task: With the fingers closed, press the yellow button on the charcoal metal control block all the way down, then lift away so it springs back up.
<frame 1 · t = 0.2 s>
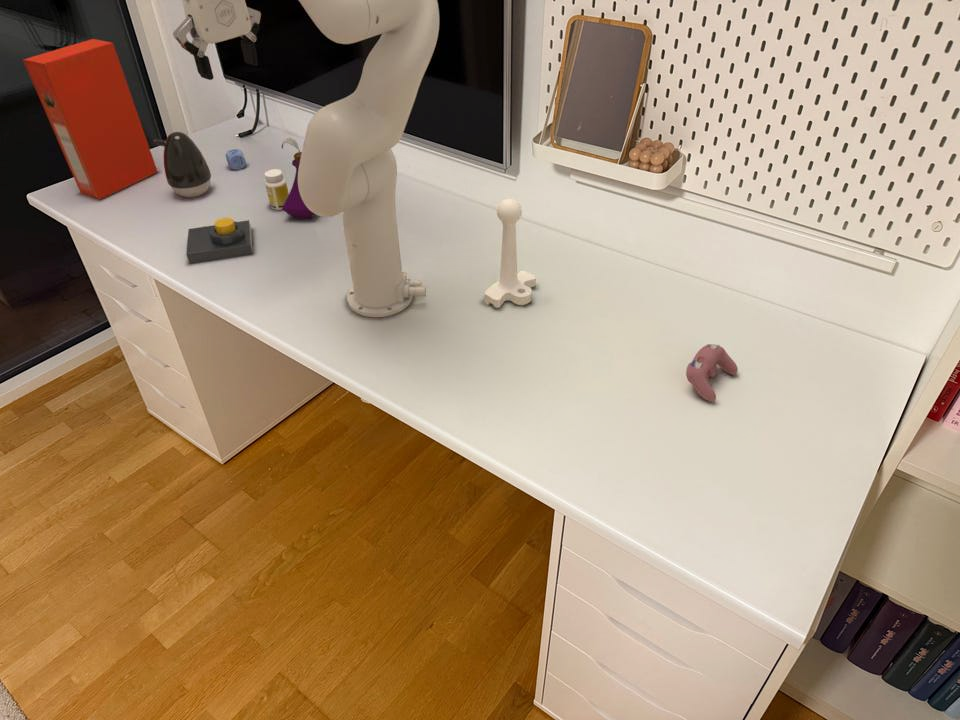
hand: (230, 70, 127), 37 cm above the table, tool pointing down, fingers open, 9 cm apart
decorative dice: (237, 167, 182), on the table
video game controller: (708, 382, 115), on the table
file binder: (120, 183, 176), on the table
supplement bottle: (281, 206, 165), on the table
pump dispenser: (193, 193, 171), on the table
perfume bottle: (305, 215, 162), on the table
button: (225, 226, 147), point 5 cm above the table, slide at 0.1 cm
joystick: (514, 297, 134), on the table
console: (221, 246, 151), on the table
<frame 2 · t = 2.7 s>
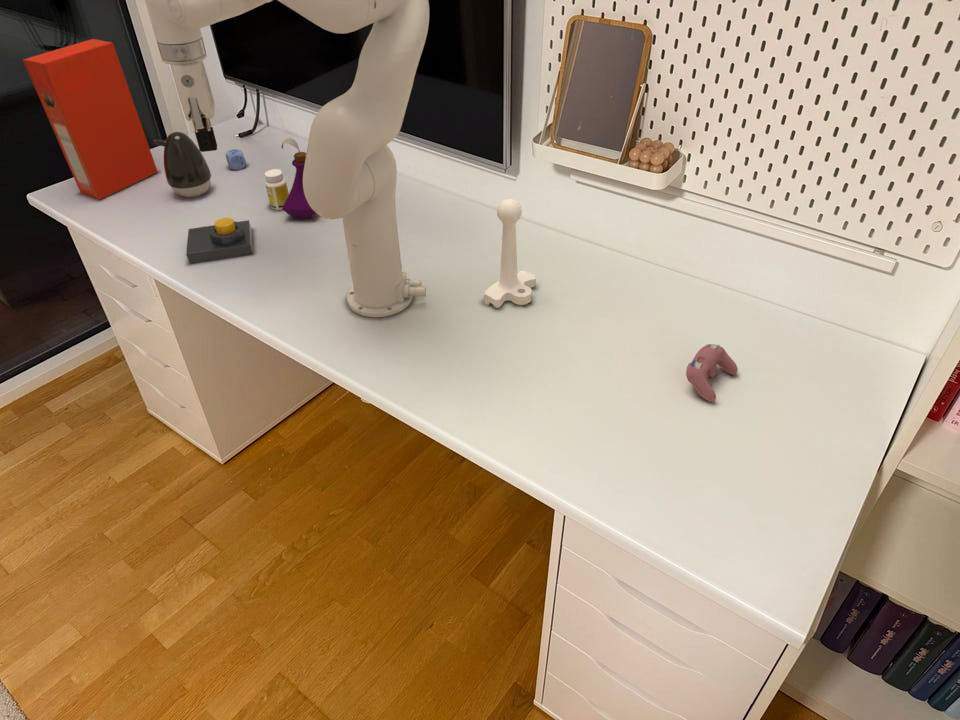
hand: (208, 149, 133), 23 cm above the table, tool pointing down, fingers closed
nothing on the table moved.
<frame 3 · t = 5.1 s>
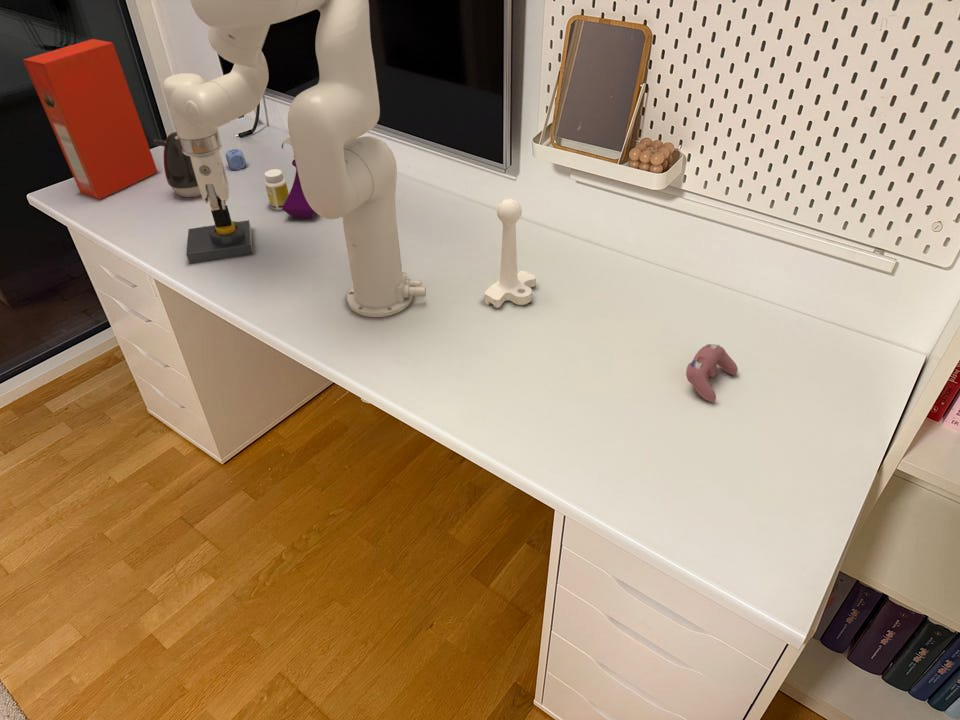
hand: (223, 224, 147), 6 cm above the table, tool pointing down, fingers closed
button: (225, 229, 148), point 4 cm above the table, slide at -0.6 cm, touching gripper
everything else where it was.
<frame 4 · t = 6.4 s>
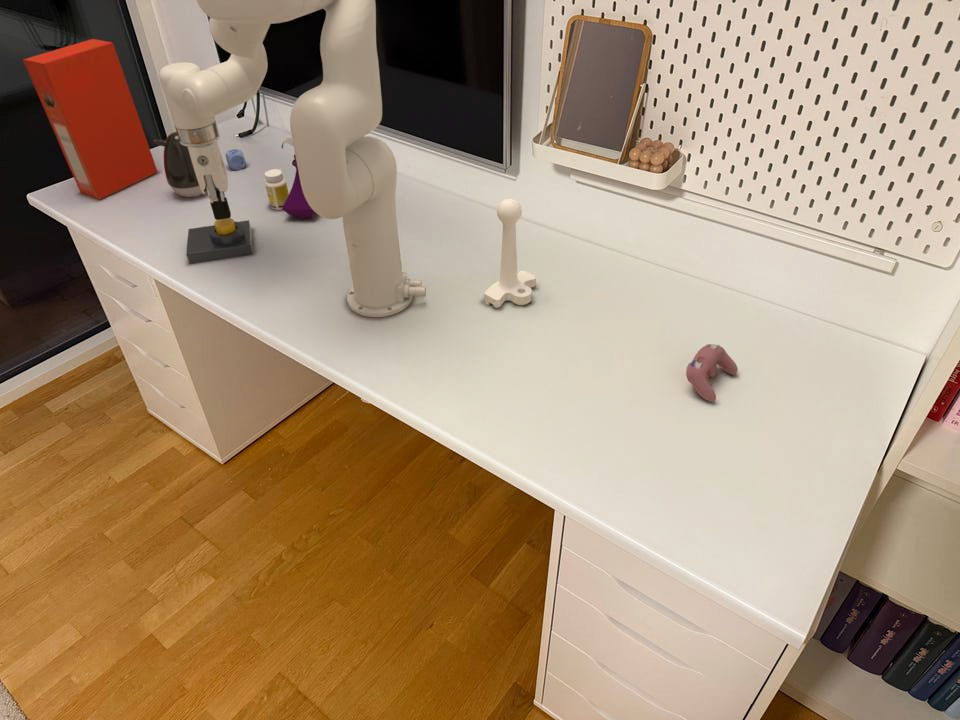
hand: (223, 217, 146), 7 cm above the table, tool pointing down, fingers closed
button: (225, 226, 147), point 5 cm above the table, slide at 0.1 cm
everything else where it was.
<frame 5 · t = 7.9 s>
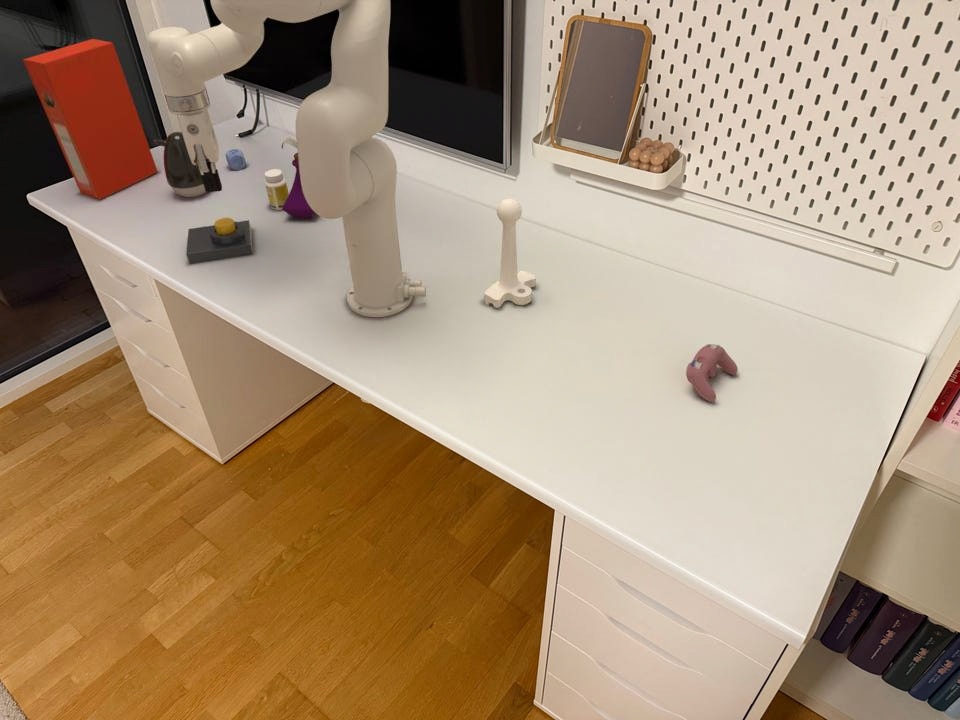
hand: (214, 189, 142), 14 cm above the table, tool pointing down, fingers closed
nothing on the table moved.
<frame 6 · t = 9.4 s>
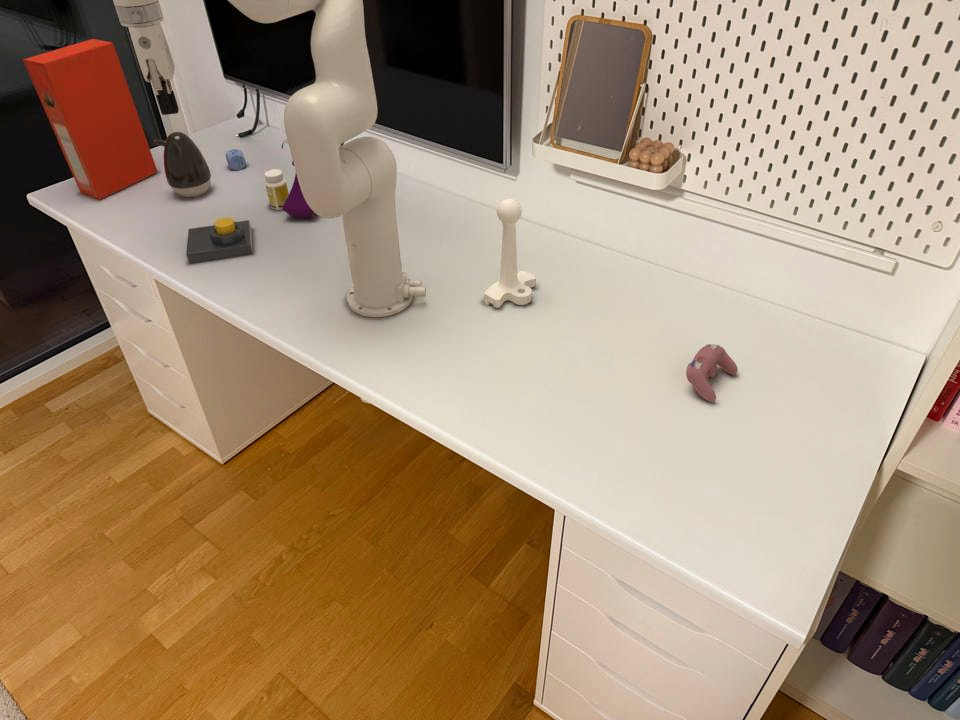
hand: (170, 112, 138), 27 cm above the table, tool pointing down, fingers closed
nothing on the table moved.
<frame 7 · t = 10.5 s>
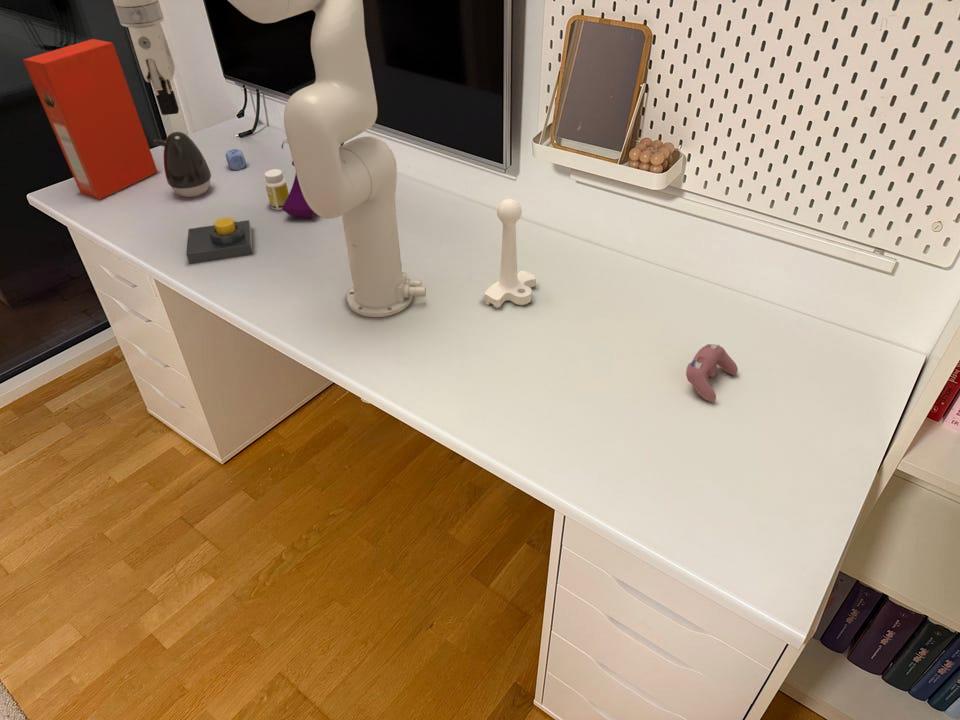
hand: (170, 112, 138), 27 cm above the table, tool pointing down, fingers closed
nothing on the table moved.
at the end: button pushed in 1.3 cm at the most during the clip, back to where it started at the end; button slide at 0.1 cm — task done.
